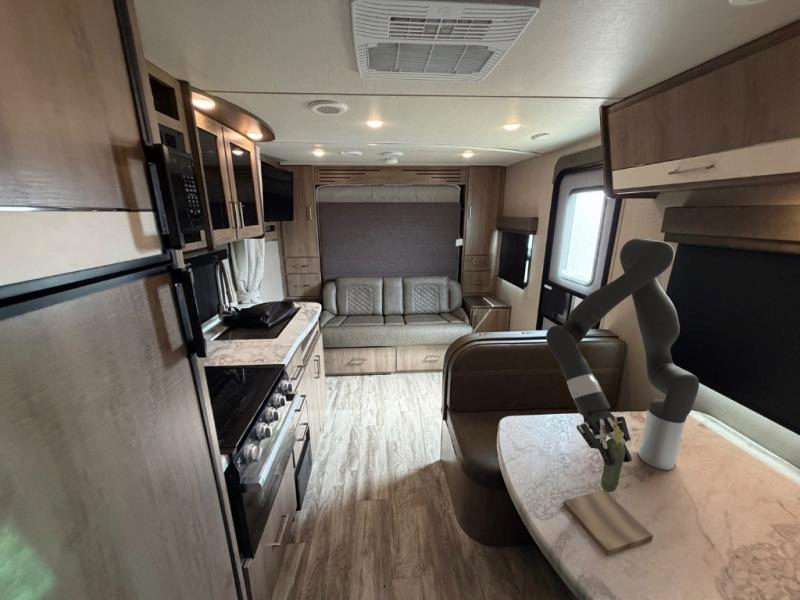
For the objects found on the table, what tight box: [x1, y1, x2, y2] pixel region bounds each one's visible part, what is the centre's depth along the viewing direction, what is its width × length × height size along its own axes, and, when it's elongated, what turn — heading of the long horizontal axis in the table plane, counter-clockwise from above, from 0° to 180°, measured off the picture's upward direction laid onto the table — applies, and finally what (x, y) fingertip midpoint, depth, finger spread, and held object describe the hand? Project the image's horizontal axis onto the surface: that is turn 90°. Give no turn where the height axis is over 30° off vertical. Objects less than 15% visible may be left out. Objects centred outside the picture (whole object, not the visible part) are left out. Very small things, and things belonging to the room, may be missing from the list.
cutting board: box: [562, 489, 654, 556], centre depth 82 cm, size 14×14×2 cm
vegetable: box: [600, 424, 625, 494], centre depth 79 cm, size 4×4×20 cm
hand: (619, 463), depth 77 cm, fingers closed on vegetable, 4 cm apart
